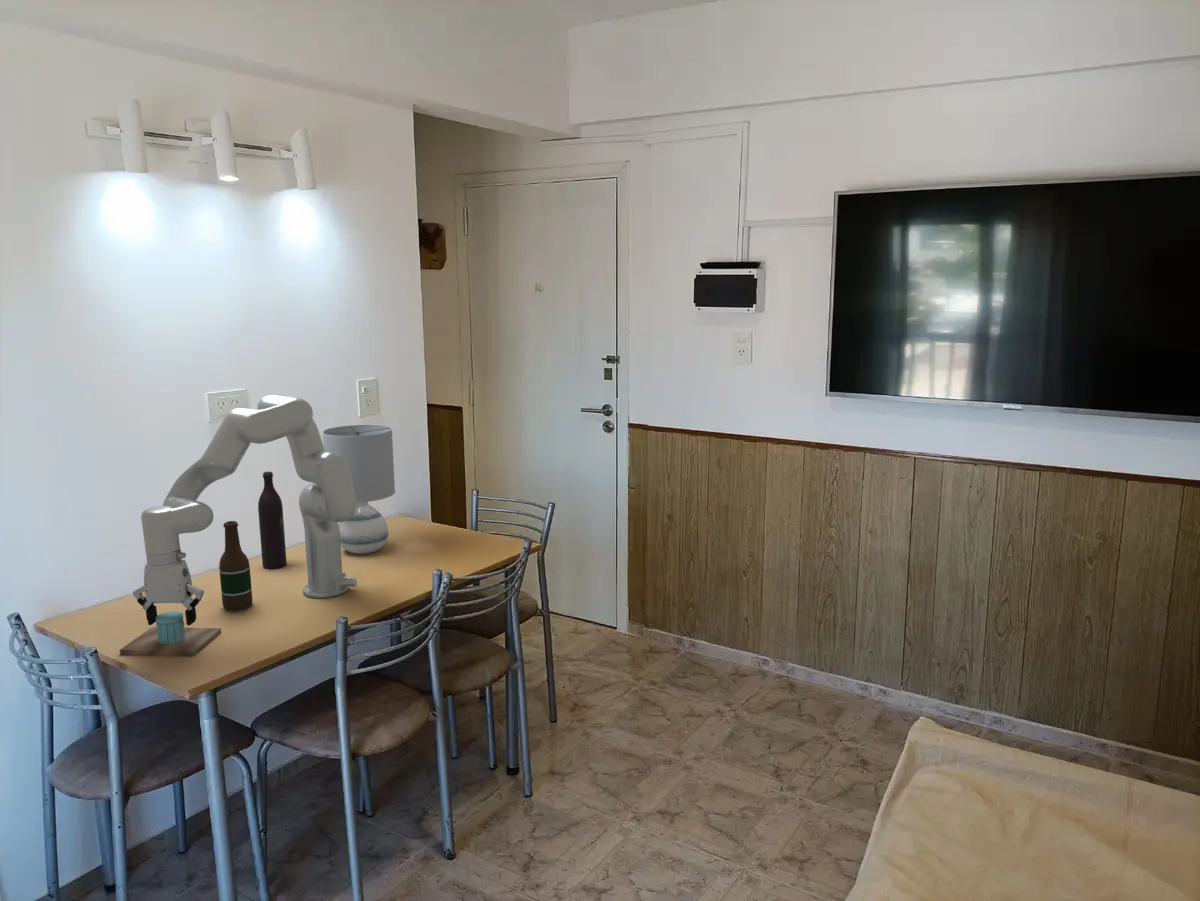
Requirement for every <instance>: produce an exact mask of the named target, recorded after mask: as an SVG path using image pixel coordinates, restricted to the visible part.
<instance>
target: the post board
mask: <svg viewBox="0 0 1200 901" xmlns="http://www.w3.org/2000/svg"><path fill="white" fill-rule="evenodd" d="M221 629H222V628H219V627H218V628H217V627H215V628H213V627H184V630H185V638H184V639H183V640H181V641H179V642H175V643H171V644H161V643H159V642H158V636H157V626H151V627H150V628H148V629H146V630H145V631H144V632H142V633H141V634H140V635H139V636H137V637H136V638H134V639H133V640H132V641H130V642H129V643H127V644H126V645H124V646H123V647H121V648H120V649H119V655H121V656H122V655H123V656H128V655H129V656H167V657H169V656H170V657H171V656H172V657H195V655H197V654H198V653H199V652H200V651H201V650H203V649H204V648H205V647H206V646H207V645H209V643H211V642H212V641H213V640H214V639H216V638H217V637H218V636H219V635H221V633H222V630H221Z"/></svg>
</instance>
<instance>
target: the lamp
mask: <svg viewBox="0 0 1200 901" xmlns="http://www.w3.org/2000/svg"><path fill="white" fill-rule="evenodd" d="M321 436H322V443H323V446H324V448H325V450H327V451H332V452H336V453H338V454H340V455H341V456H342V457H343V458H344V459H345V461H346V462H347V464H348V467H349V470H350V474H351V479H352V483H353V487H354V492H355V496H356V509H355V512H354V514H353V516H352V517H351V518H350V519H349V520H347V521H344V522H338V525H339V529H340V545H341V549H343V550H345V551H347V552H348V553H351V554H353V555H356V554H357V555H365V554H366V555H368V554H371V553H376V552H377V551H379V550H381V549H382V548H383V547H384V546H385V544H386V543H388V539H389V534H390V533H389V527H388V524H387V521H386V518H385V517H384V516H383V514H381V512H379V510H377V509H376V508H375V507H373V506H371V505H370V504H369V502H375V501H381V500H384V499H387V498H390V497H392V496H394V495H395V492H396V488H395V486H396V485H395V467H394V466H395V465H394V445H393V429H392V427H391V426H387V425H384V424H383V425H382V424H348V425H341V426H333V427H329V428H325V429H324V430H322V435H321Z"/></svg>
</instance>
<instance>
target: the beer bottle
mask: <svg viewBox="0 0 1200 901" xmlns="http://www.w3.org/2000/svg"><path fill="white" fill-rule="evenodd" d="M238 527H239V523H238V522H237V520H230V521H229V520H228V521H225V522H224V523H223V528H224V552H223V553H222V554H221V557H220V559H219V563H218V564H219V565H218V568H219V570H218V571H219V581H220V589H221V591H220V592H221V600H222V606H223V608H224V609H225V611H229V612H238V611H242V610H246V609H248V608H250V607H252V606H253V590H252V577H251V568H250V560H249V558H248V556H247V555H246V554H245V553H244V551H243V550H242V548H241V543H240V537H239V531H238Z"/></svg>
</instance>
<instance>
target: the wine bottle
mask: <svg viewBox="0 0 1200 901" xmlns="http://www.w3.org/2000/svg"><path fill="white" fill-rule="evenodd" d="M273 477H274V473H273V472H272V471H264V472H263V473H262V478H263V490H262V492H261V494H260V496H259V497H258V498H259V499H258V503H257V504H258V505H257V509H258V511H257V512H258V523H259V524H258V526H259V535H260V549H261V560H262V567H263V568H264V569H268V570H274V569H276V570H277V569H280V568H283V567H286V565H287V551H286V550H287V549H286V536H285V535H286V534H285V522H284V509H283V502H282V498H281V497H280V495H279V493H278V492H277V490H276V489H275V486H274V481H273Z"/></svg>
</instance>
